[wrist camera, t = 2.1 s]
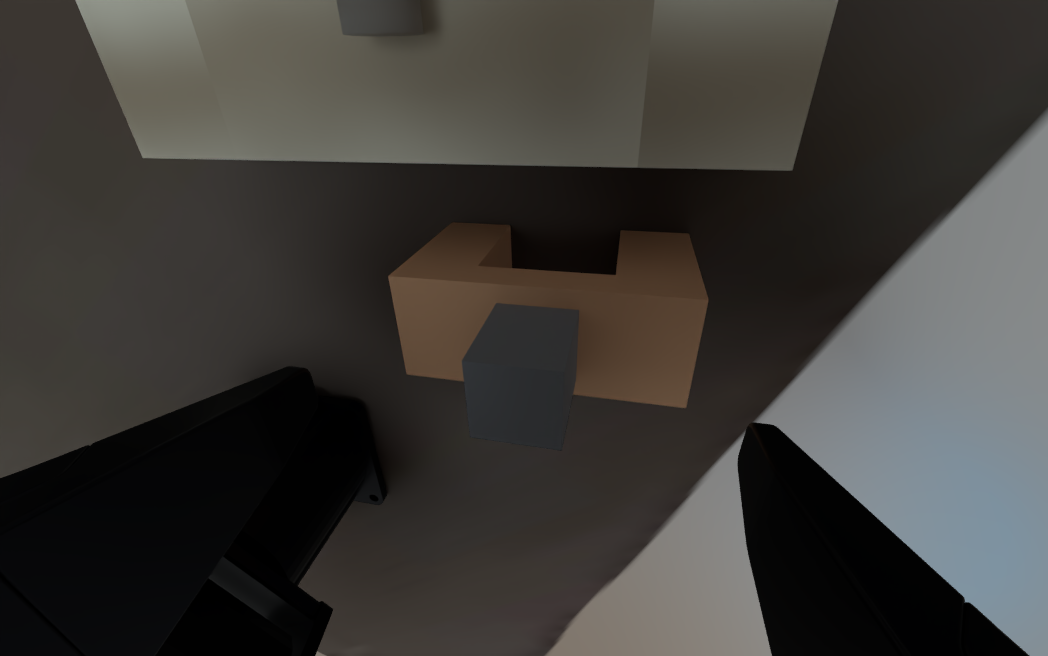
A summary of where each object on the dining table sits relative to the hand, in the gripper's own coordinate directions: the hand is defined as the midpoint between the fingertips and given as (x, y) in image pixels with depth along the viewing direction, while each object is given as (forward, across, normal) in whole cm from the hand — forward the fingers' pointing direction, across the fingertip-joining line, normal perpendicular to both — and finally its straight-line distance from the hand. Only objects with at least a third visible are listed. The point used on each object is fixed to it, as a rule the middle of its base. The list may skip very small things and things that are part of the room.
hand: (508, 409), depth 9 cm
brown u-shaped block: (+7, 0, 0) cm, 7 cm away
